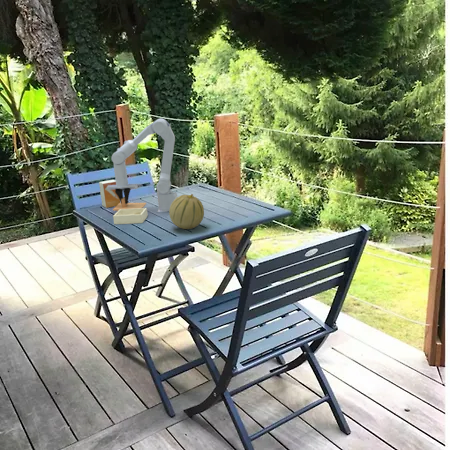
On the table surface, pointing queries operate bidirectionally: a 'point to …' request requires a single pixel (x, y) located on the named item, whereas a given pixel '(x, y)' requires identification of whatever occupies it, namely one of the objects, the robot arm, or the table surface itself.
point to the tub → (130, 216)
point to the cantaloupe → (186, 211)
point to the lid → (128, 205)
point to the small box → (108, 194)
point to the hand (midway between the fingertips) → (124, 203)
